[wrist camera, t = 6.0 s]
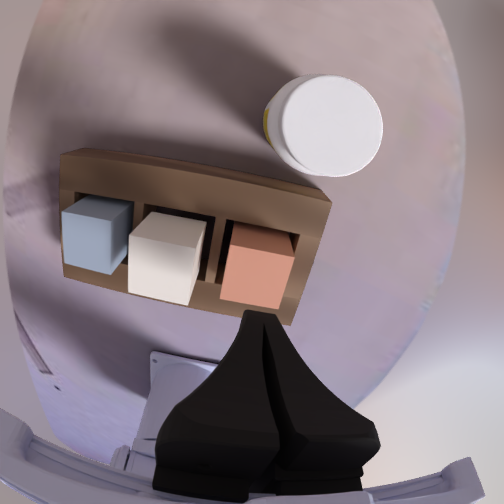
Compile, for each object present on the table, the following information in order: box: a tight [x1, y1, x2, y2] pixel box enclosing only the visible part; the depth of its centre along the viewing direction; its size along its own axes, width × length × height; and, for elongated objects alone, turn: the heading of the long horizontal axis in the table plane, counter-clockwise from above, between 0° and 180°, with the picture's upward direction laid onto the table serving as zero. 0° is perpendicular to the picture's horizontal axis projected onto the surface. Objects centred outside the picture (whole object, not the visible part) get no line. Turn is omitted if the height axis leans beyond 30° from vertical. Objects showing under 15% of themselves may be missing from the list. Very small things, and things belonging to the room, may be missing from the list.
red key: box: [220, 221, 295, 309], centre depth 18 cm, size 3×3×4 cm
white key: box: [128, 212, 207, 306], centre depth 16 cm, size 3×3×4 cm
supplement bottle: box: [263, 74, 383, 177], centre depth 14 cm, size 5×5×8 cm
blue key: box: [62, 194, 135, 275], centre depth 17 cm, size 3×3×4 cm
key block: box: [59, 148, 332, 326], centre depth 19 cm, size 9×17×3 cm, turn 78°
